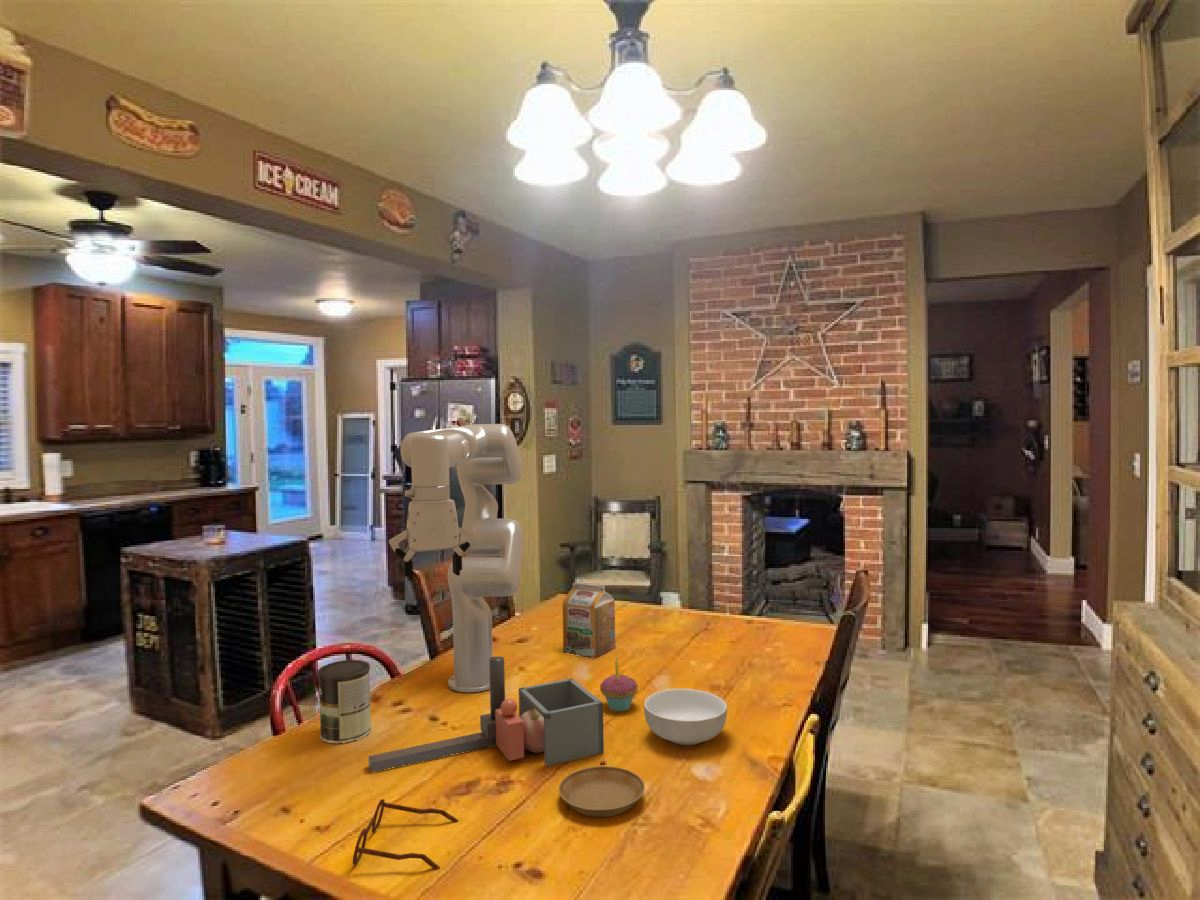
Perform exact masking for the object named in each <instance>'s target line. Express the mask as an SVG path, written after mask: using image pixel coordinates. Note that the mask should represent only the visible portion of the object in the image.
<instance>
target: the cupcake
mask: <svg viewBox="0 0 1200 900" xmlns="http://www.w3.org/2000/svg"><path fill="white" fill-rule="evenodd" d="M614 662H615V664H614V665H615V666H614V667H615V668H614V669H615V674H613V675H610V676H608V677H606V678H604V679H603V680H602V682H600V684H599V685H600V688H599V691H600V692H601V694H602V695H603V696H604V697H605V699H606V702H607V705H608V708H609V710H610V711H613V710H614V711H613V712H624V711H625V712H626V711H628V710H629V709H630V708H631V704H632V701H633V698H634V697H635V695H636V694H637V693H638V683H637V681H636V680H634V678H632V677H630V676H628V675H625V674H620V672H619V660H618V659H617V657H615V661H614Z"/></svg>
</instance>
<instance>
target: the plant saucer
mask: <svg viewBox="0 0 1200 900" xmlns="http://www.w3.org/2000/svg"><path fill="white" fill-rule="evenodd" d="M645 789H646V788H645V783H644V780H643V779H642V777H640V776H639V775H638V774H637V773H635V772H633V771H631V770H629V769H624V768H623V767H617V766H608V765H605V766H604V765H602V766H601V765H598V766H590V767H585V768H582V769H578V770H576V771H573V772H571V773H569V774H568V775H567V776H564V778H563V779H562V780H561V782H560V783H559V786H558V792H559V795H560V797H561V798H562V800H563V801H564V802H565V803H566V804H567V805H568V806H569V807H570V808H571V809H573V810H574V811H576V812H577V813H580V814H582V815H585V816H588V817H593V818H609V817H613V816H619V815H620V814H623V813H625V812H627V811H628V810H630V809H631V808H632V807H633V806H634V805H635V804H636V803H637V802H638V801H640V799H641V797H642V796H643V794H644V793H645Z"/></svg>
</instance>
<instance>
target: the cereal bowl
mask: <svg viewBox="0 0 1200 900" xmlns="http://www.w3.org/2000/svg"><path fill="white" fill-rule="evenodd" d="M643 712H644V713H643V714H644V719H645V722H646V724H647V726H648V727H649V728H650V730H651V731H652V732H653V733H654V734H655V735H657V736H659V737H660V738H662V739H664V740H667V741H669V742H671V743H673V744H676V745H681V746H682V745H683V746H694V745H698V744H700V743H702V742H703V743H704V742H706V741H709V740H711V739H713V738H715V737H716V736H717V735H719V734H720V733H721V731H723V729H724V727H725V725H726V721H727V716H728V705H727V702H726V701H724V699H722V698H721V697H720V696H717V695H716V694H714V693H711V692H709V691H705V690H699V689H693V688H672V689H671V688H670V689H664V690H663V689H662V690H659V691H656V692H654V693H652V694H650V695H649V696H647V697H646V698H645V700H644V702H643Z"/></svg>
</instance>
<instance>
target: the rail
mask: <svg viewBox="0 0 1200 900" xmlns="http://www.w3.org/2000/svg"><path fill="white" fill-rule="evenodd" d="M496 746H497V745H496V738H492V739H487V737H486V736H485V735H484V734H483V732H482V731H481V732H475V733H472V734H467V735H462V736H459V737H457V736H456V737H453V738H449V739H444V740H443V739H442V740H439V741H435V742H429V743H424V744H419V745H415V746H410V747H407V748H405V747H404V748H401V749H396V750H395V749H394V750H391V751H386V752H382V753H378V754H377V753H376V754H373V755H368V768H369V771H370V770H371V771H370V773H371V772H375V771H379V770H384V769H388V768H392V767H397V768H399V767H398V766H402V765H406V766H409V765H408V764H411V765H414V764H413V763H415V764H418V763H417V762H420V763H422V762H421V761H424V762H427V761H426V760H429V761H431V760H430V759H433V760H435V759H434V758H438V759H440V758H439V757H442V758H444V757H443V756H447V755H451V754H456V753H460V754H463V753H462V752H465V753H468V752H467V751H470V752H473V751H472V750H474V751H478V749H479V750H483V749H486V748H487V749H488V748H491V747H496ZM497 747H498V746H497ZM456 755H457V754H456ZM451 756H452V755H451ZM447 757H448V756H447ZM402 767H403V766H402ZM388 770H389V769H388ZM384 771H385V770H384ZM379 772H380V771H379ZM375 773H376V772H375Z"/></svg>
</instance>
